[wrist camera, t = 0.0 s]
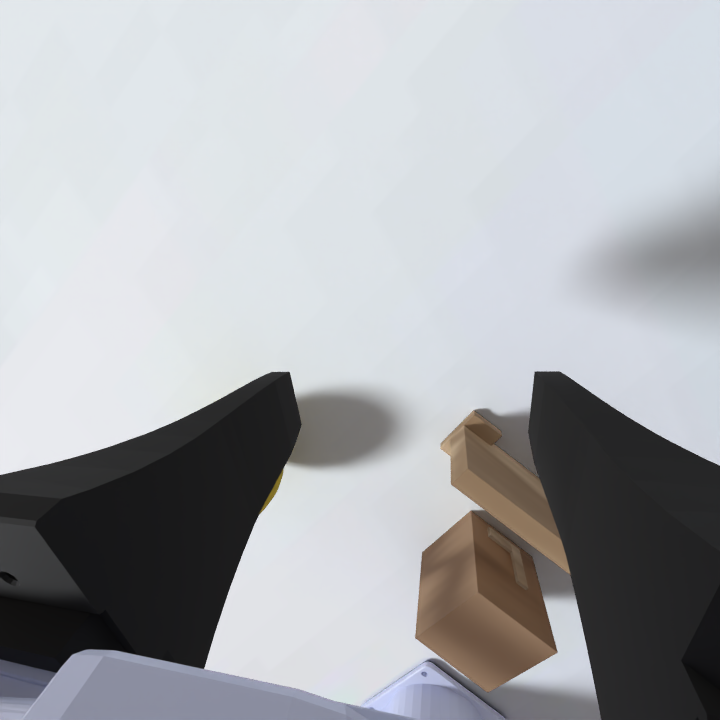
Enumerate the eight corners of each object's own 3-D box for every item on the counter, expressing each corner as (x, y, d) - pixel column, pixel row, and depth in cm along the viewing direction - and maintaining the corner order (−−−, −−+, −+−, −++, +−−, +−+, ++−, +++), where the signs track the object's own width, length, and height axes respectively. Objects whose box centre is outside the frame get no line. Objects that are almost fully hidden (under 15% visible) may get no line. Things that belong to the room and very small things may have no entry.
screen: (619, 579, 23) (662, 665, 18) (440, 443, 23) (438, 495, 18) (661, 553, 22) (719, 638, 17) (473, 410, 22) (480, 456, 17)
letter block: (479, 594, 26) (487, 692, 20) (422, 551, 26) (415, 638, 20) (534, 554, 24) (560, 650, 18) (472, 508, 24) (480, 590, 18)
